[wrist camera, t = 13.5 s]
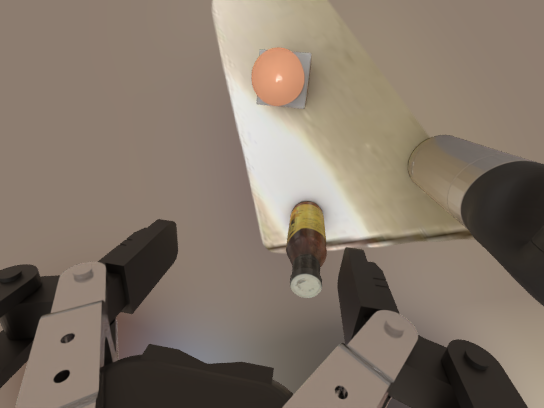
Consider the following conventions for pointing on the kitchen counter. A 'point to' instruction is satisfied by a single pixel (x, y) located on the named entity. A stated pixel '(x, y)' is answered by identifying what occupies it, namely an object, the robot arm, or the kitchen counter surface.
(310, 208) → the sauce bottle
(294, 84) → the clay cylinder
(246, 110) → the kitchen counter surface
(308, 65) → the slate block
